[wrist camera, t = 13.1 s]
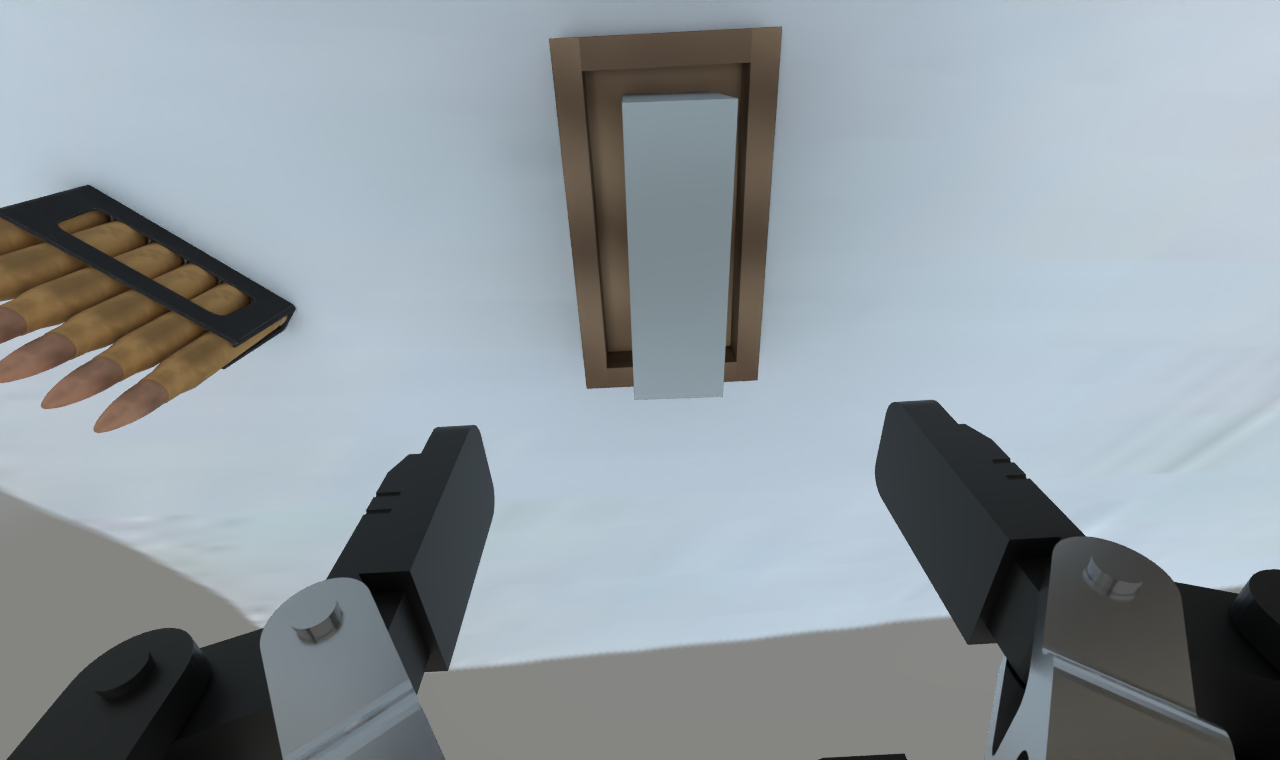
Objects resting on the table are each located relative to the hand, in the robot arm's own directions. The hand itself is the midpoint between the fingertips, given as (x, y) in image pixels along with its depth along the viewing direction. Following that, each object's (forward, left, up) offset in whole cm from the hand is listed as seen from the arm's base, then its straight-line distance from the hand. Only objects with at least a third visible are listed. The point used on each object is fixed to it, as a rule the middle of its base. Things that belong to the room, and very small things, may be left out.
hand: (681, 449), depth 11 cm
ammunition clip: (+1, -25, -21) cm, 32 cm away
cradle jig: (0, +1, -21) cm, 21 cm away
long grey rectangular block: (0, +1, -19) cm, 19 cm away
